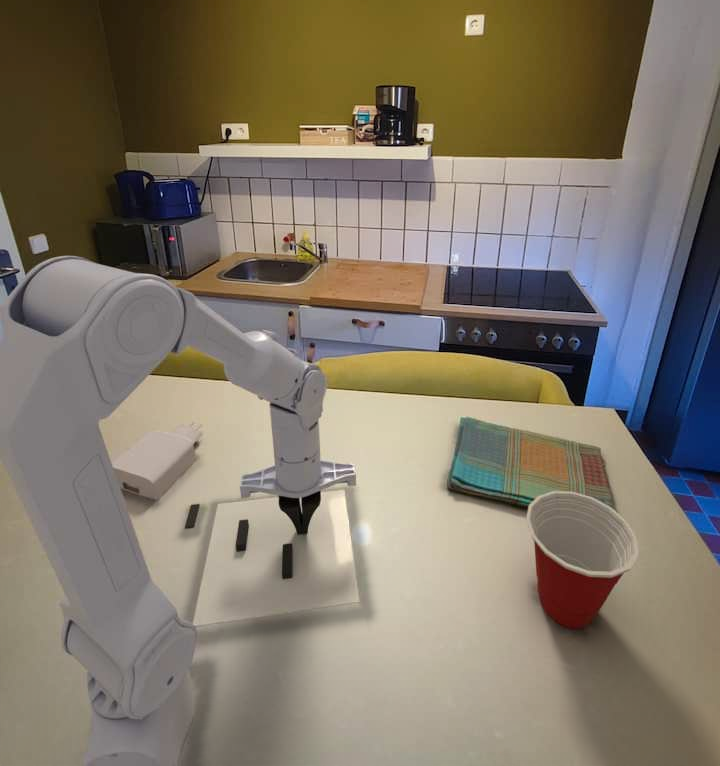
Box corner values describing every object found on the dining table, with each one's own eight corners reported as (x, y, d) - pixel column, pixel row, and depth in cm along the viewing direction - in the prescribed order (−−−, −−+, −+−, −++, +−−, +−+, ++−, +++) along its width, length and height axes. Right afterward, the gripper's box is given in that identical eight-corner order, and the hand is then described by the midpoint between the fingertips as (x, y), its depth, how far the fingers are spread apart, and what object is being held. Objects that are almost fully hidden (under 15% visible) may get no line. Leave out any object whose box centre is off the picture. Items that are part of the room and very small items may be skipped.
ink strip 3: (292, 578, 52) (291, 571, 51) (282, 579, 52) (281, 572, 51) (292, 549, 55) (292, 542, 55) (283, 550, 55) (282, 544, 55)
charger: (220, 440, 77) (157, 505, 63) (178, 429, 79) (110, 489, 66) (217, 418, 75) (152, 480, 62) (174, 407, 78) (103, 464, 65)
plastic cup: (531, 542, 57) (544, 472, 53) (624, 594, 51) (646, 519, 47) (499, 608, 49) (512, 532, 45) (603, 680, 43) (629, 598, 39)
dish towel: (459, 423, 81) (460, 411, 80) (597, 451, 73) (600, 439, 73) (445, 491, 65) (446, 478, 65) (618, 535, 58) (622, 521, 57)
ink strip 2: (245, 550, 55) (245, 544, 55) (236, 552, 55) (235, 545, 55) (249, 525, 59) (248, 519, 58) (240, 526, 59) (239, 520, 58)
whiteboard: (366, 613, 49) (366, 607, 49) (184, 640, 46) (183, 634, 46) (348, 490, 66) (348, 485, 65) (214, 505, 63) (213, 500, 63)
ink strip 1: (185, 533, 59) (194, 532, 59) (184, 527, 58) (193, 526, 59) (192, 510, 62) (200, 509, 63) (191, 504, 62) (199, 503, 62)
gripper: (351, 420, 58) (352, 498, 62) (241, 431, 56) (250, 509, 61) (357, 458, 51) (358, 541, 56) (233, 471, 49) (244, 555, 54)
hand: (302, 527), depth 58 cm, fingers closed
